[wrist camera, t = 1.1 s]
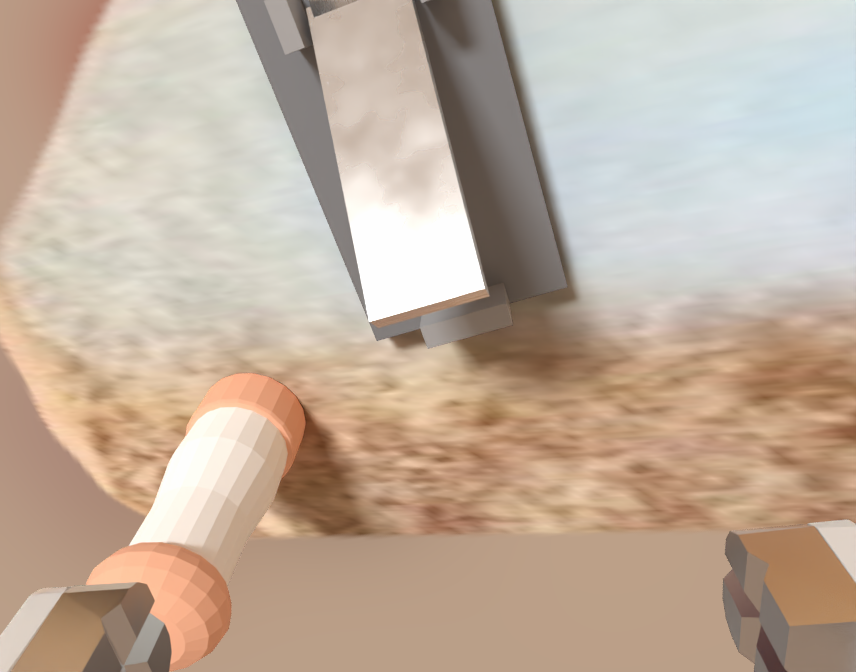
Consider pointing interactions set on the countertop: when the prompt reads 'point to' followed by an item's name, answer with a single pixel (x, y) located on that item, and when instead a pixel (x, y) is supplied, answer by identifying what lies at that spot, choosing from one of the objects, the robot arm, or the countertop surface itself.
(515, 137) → the clamp board
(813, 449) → the countertop surface
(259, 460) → the pepper shaker
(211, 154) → the countertop surface
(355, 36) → the clamp lever
